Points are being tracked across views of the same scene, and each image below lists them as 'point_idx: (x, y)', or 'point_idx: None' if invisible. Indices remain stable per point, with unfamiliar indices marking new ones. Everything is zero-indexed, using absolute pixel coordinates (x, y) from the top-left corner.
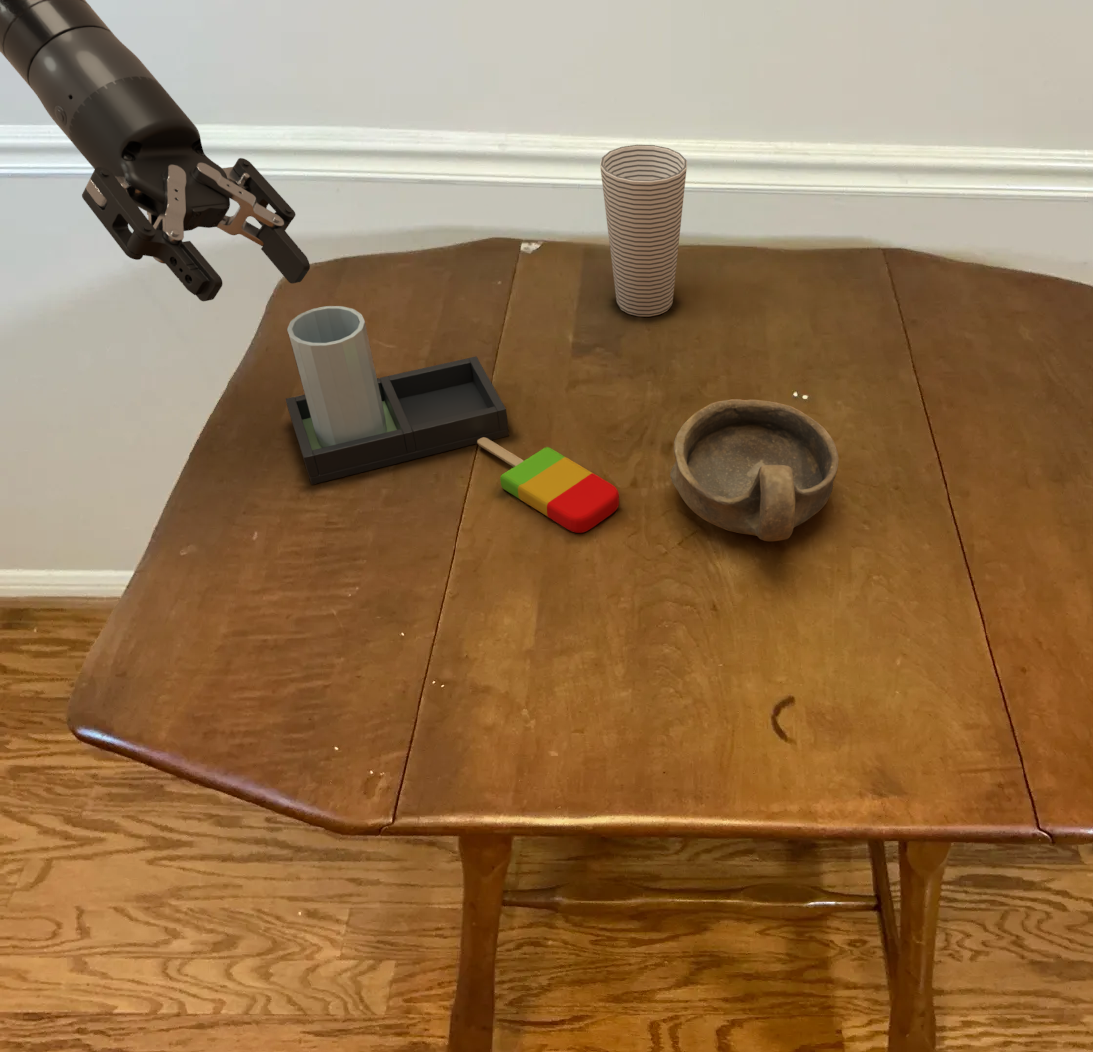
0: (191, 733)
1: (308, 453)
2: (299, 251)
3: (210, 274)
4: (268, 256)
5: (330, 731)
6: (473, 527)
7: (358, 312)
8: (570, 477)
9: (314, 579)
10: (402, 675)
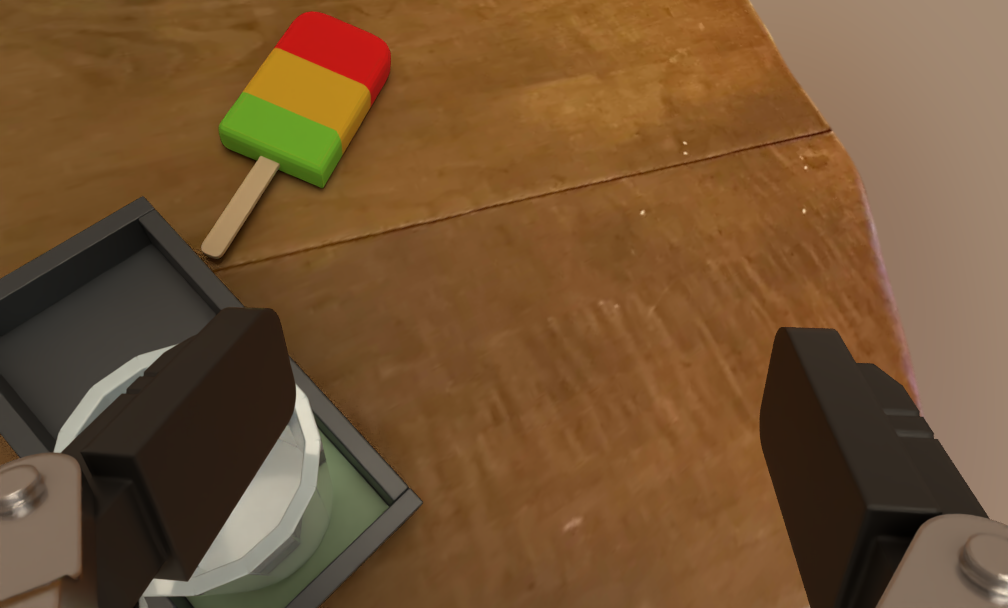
0: None
1: (407, 501)
2: (193, 340)
3: (840, 344)
4: (217, 527)
5: (792, 226)
6: (422, 202)
7: (81, 401)
8: (298, 72)
9: (613, 370)
10: (694, 187)
